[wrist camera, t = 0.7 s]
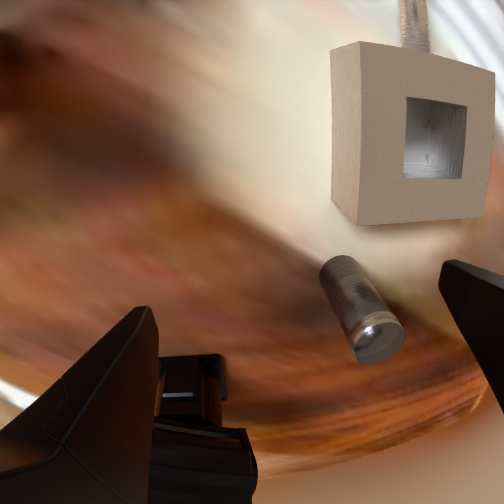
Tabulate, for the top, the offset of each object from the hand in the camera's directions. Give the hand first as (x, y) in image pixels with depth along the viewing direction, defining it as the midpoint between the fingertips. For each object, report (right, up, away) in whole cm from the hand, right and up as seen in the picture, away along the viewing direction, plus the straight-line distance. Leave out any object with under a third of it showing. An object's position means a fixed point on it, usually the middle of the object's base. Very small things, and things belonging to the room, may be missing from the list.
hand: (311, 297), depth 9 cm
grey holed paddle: (+8, +14, +8) cm, 18 cm away
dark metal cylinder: (+5, 0, +15) cm, 16 cm away
